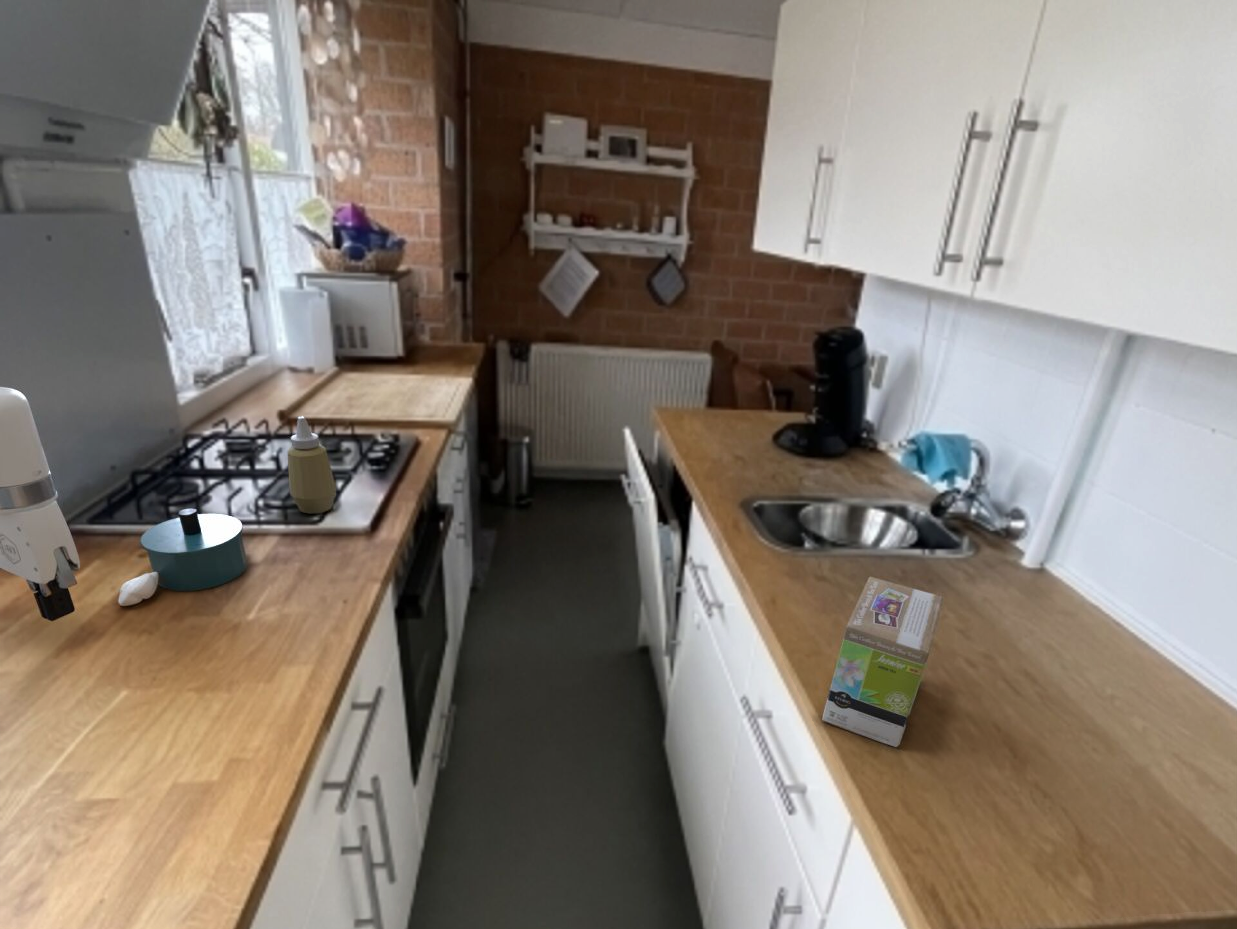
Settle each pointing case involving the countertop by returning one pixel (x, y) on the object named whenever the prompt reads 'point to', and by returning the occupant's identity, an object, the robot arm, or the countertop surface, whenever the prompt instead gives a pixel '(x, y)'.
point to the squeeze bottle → (310, 471)
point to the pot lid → (191, 533)
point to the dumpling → (138, 589)
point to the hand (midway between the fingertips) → (59, 614)
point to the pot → (200, 567)
